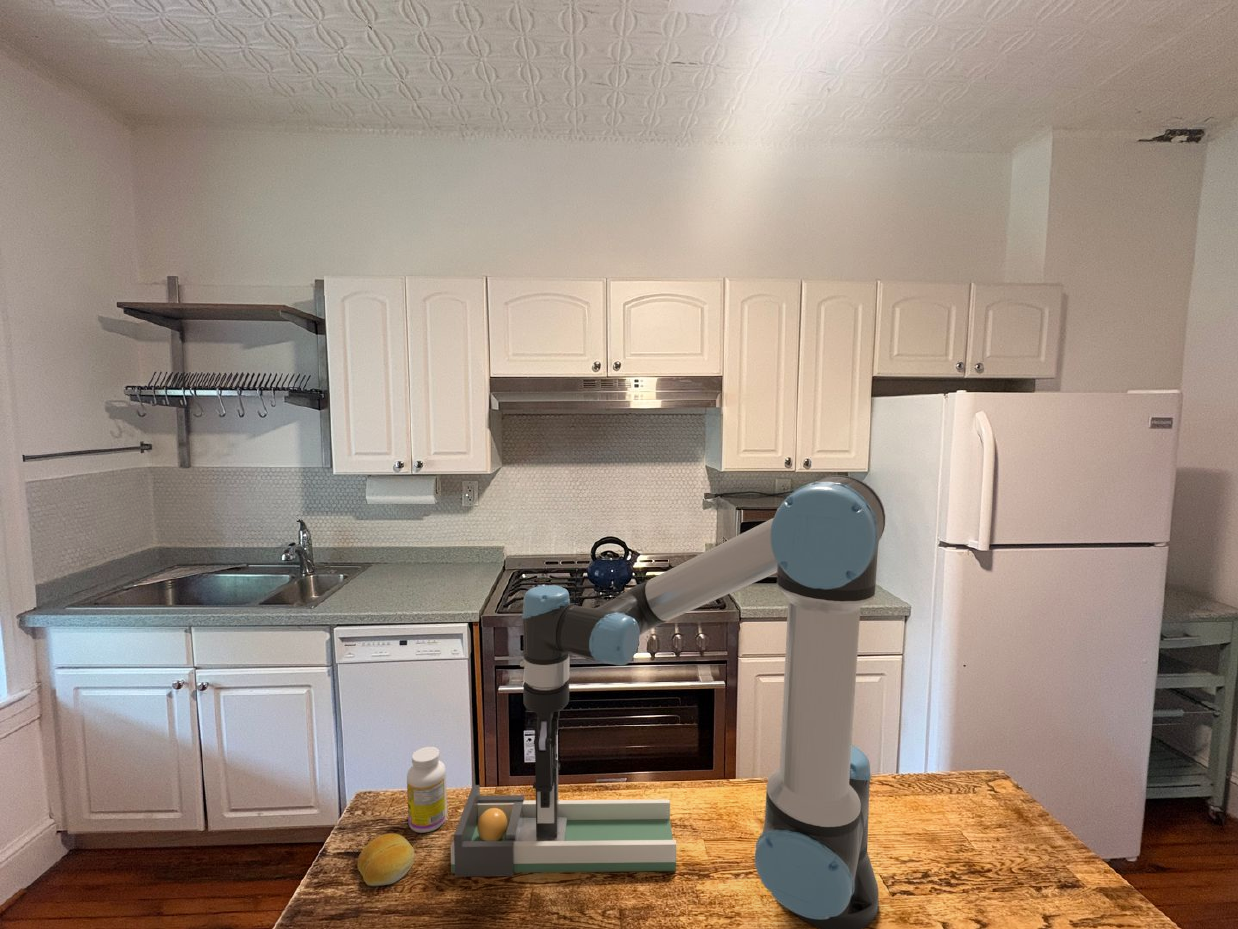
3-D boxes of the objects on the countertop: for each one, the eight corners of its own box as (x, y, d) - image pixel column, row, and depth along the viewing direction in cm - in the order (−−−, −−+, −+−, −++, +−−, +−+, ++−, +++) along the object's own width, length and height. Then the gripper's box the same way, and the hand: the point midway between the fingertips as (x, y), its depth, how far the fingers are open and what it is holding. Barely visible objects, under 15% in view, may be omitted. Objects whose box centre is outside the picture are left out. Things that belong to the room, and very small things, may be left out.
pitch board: (669, 823, 104) (669, 799, 104) (676, 871, 93) (676, 844, 93) (468, 825, 104) (467, 801, 103) (451, 873, 93) (450, 846, 92)
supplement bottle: (415, 809, 108) (413, 743, 107) (451, 808, 108) (449, 742, 107) (403, 835, 101) (400, 765, 100) (441, 834, 101) (439, 764, 100)
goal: (524, 821, 104) (524, 784, 104) (513, 876, 92) (512, 834, 92) (473, 822, 104) (472, 785, 104) (455, 876, 92) (454, 835, 91)
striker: (567, 821, 102) (566, 750, 101) (563, 855, 94) (562, 779, 93) (514, 821, 102) (513, 750, 101) (506, 855, 94) (505, 779, 93)
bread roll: (370, 898, 88) (369, 873, 88) (352, 864, 95) (351, 841, 95) (423, 870, 94) (423, 847, 93) (403, 840, 100) (402, 818, 100)
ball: (491, 842, 100) (516, 828, 99) (479, 853, 95) (505, 838, 95) (480, 812, 101) (504, 799, 101) (467, 821, 96) (493, 807, 96)
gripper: (530, 660, 104) (531, 785, 106) (515, 704, 88) (517, 849, 90) (572, 660, 104) (572, 785, 106) (565, 704, 88) (565, 849, 90)
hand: (547, 814), depth 98 cm, fingers closed on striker, 2 cm apart
